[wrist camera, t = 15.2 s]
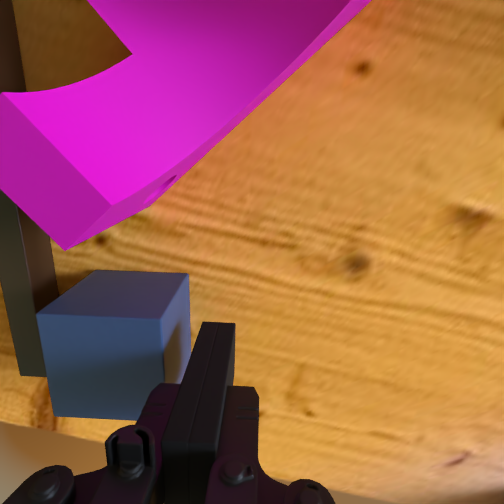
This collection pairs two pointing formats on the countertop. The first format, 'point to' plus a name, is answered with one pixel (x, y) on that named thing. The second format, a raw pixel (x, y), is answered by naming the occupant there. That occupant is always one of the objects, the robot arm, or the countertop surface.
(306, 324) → the countertop surface
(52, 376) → the cube
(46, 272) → the straightedge
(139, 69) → the toy block
